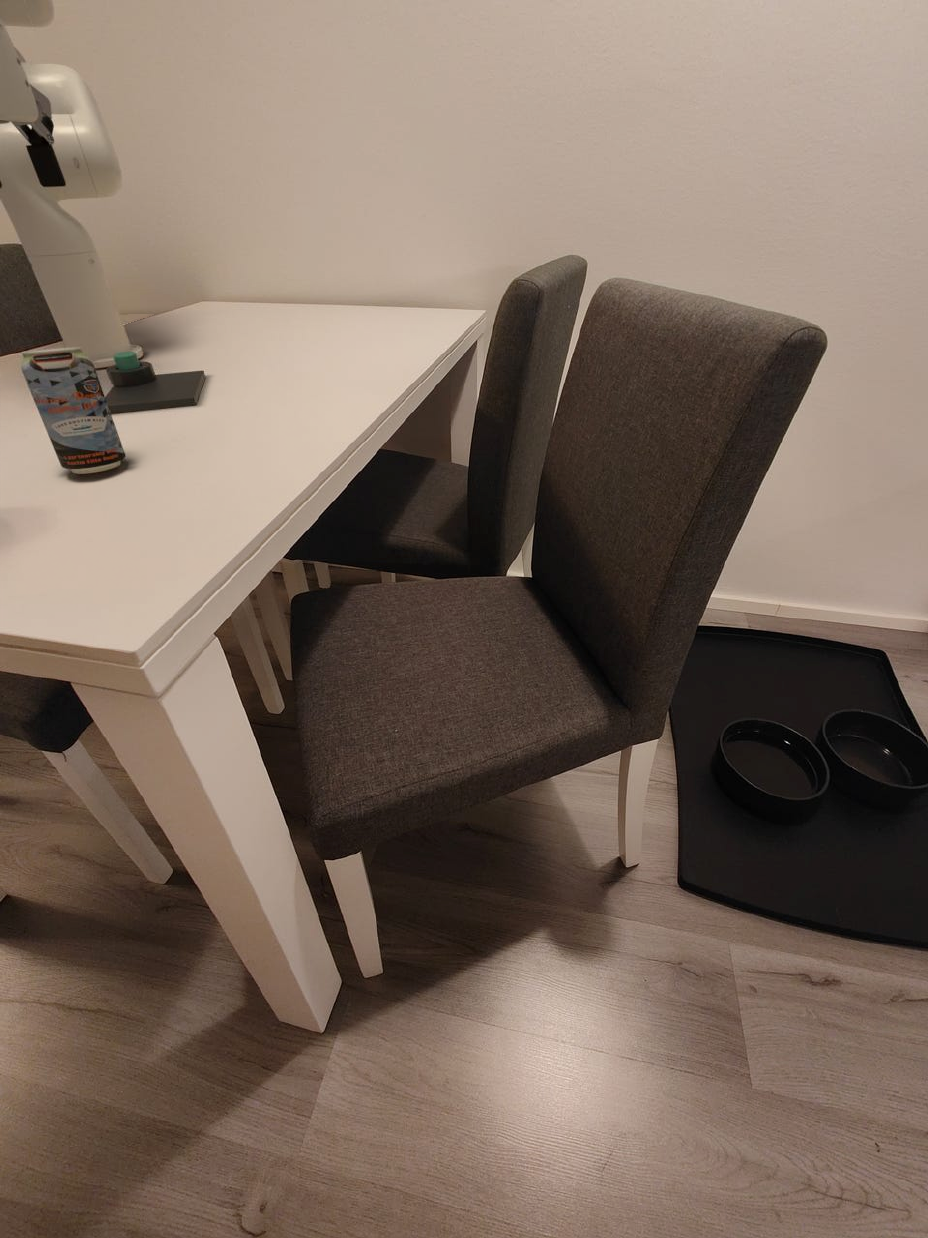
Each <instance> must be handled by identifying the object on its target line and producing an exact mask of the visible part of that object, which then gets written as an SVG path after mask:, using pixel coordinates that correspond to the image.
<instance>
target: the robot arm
mask: <svg viewBox="0 0 928 1238" xmlns="http://www.w3.org/2000/svg"><path fill="white" fill-rule="evenodd" d="M54 19H55V5H54V0H0V202H1V204H2V205H3V207H4V209H5V211H6V214H7V216H8V217H9V219H10V222H11V224H12V225H13V228H14V230H15V232H16V235H17V237H18V239H19V241H20V243H21V246H22V248H23V250H24V253H25V255H26V257H27V260H28V262H29V265H30V267H31V269H32V271H33V274H34V276H35V278H36V281H37V284H38V286H39V288H40V291H41V292H42V294H43V297H44V300H45V302H46V304H47V307H48V309H49V311H50V313H51V315H52V318H53V321H54V322H55V323H54V324H55V325H56V328H57V330H58V333H59V335H60V337H61V339H62V342H63V344H64V346H65V348H70V347H81V350H82V352H83V353H84V354H85V355H86V356H87V357H89V358H90V359H91V361H92V362H93V364H94V367H95V369H104V368H108V367H110V366H113V365H116V363H115V360H114V358H113V355H115V354H117V353H122V352H135V353H136V355H137V358H138V360H139V359H141V358H143V356H144V350H143V348H142V347H141V346H140V345H137V344H132V343H131V342H130V340H129V337H128V334H127V331H126V329H125V326H124V323H123V321H122V318H121V315H120V312H119V309H118V306H117V304H116V301H115V299H114V295H113V293H112V290H111V286H110V285H109V282H108V279H107V276H106V274H105V270H104V268H103V264H102V262H101V259H100V257H99V254H98V251H97V247H96V246H95V243H94V240H93V239H92V237H91V235H90V233H89V231H88V230H87V229H86V228H85V226H84V225H83V224H82V223H81V222H80V221H78V220H77V219H76V218H75V217H74V216H73V215H72V214H70V213H69V212H68V211H66V210H65V209H64V208H63V207H62V206H61V204H59V202H60V201H67V200H80V199H100V198H110V197H114V196H116V195H117V194H119V192H120V191H121V188H122V183H123V182H122V181H123V178H122V170H121V166H120V162H119V158H118V155H117V153H116V150H115V147H114V145H113V142H112V140H111V137H110V134H109V132H108V129H107V127H106V124H105V121H104V118H103V116H102V113H101V111H100V108H99V105H98V104H97V103H98V102H97V100H96V99H95V97H94V94H93V92H92V90H91V88H90V86H89V85H88V83H87V82H86V80H85V79H84V77H83V76H82V75H81V74H80V73H79V72H78V71H77V70H75V69H74V68H72V67H70V66H68V65H64V64H59V63H48V62H47V63H43V62H27V60H26V58H25V57H24V56H23V54H22V53H21V51H19V49H18V48H16V46H14V45H15V44H14V43H13V41H12V39H11V36H10V34H9V32H8V30H7V28H6V27H21V28H22V27H23V28H44V27H45V28H46V27H48V26H50V25H51V24H52V23H53V21H54Z"/></svg>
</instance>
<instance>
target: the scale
mask: <svg viewBox="0 0 928 1238" xmlns="http://www.w3.org/2000/svg"><path fill="white" fill-rule="evenodd" d="M139 363H140V366H141V367H139V368H135V369H130V370H118V368H117V365H113V366H110V367H106V369H105V370H106V375H107V376H108V379H109V381H110V384H111V385H112V387H111V388H110V390H109V392H108V393H107V394H106V395H105V399H106V401H107V404H108V407H109V410H110V413H111V415H112V414H121V413H130V412H131V413H132V412H143V411H152V410H160V409H169V408H170V409H172V408H181V407H191V406H192V407H193V406H197V404H198V400H199V397H200V394H201V391H202V388H203V385H204V382H205V379H206V375H205V370H194V371H193V370H192V371H181V372H172V373H171V372H170V373H160V374H159V373H158V374H156V373H155V370H154V369H155V368H154V367H153V364H152V362H149V361H147V360H145V361H144V360H139Z"/></svg>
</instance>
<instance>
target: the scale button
mask: <svg viewBox="0 0 928 1238" xmlns="http://www.w3.org/2000/svg"><path fill="white" fill-rule="evenodd" d="M113 358H114V360H115V363H116V365H117V368H118V370H130V369H135V368H139V367H141V366H140V363H139V361H140V360H139V359H138V358H137V355H136V353H135V352H122V353H117V354H115V355H113Z"/></svg>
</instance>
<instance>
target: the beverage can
mask: <svg viewBox="0 0 928 1238" xmlns="http://www.w3.org/2000/svg"><path fill="white" fill-rule="evenodd" d="M21 355H22V357H23V358H22V361H21V365H20V369H21V372H22V375H23V377H24V379H25V382H26V384H27V387H28V389H29V392H30V394H31V396H32V399H33V401H34V403H35V406H36V409H37V411H38V413H39V416H40V418H41V420H42V424H43V426H44V428H45V430H46V432H47V435H48V437H49V440H50V442H51V445H52V447H53V450H54V452H55V455H56V457H57V459H58V462H59V465H60V467H61V468H63V469H65V470H70V471H71V472H72V473H73V474H78V475H79V474H92V473H100V472H105V471H108V470H112V469H115V468H117V467H119V466H120V465H121V461H122V460H124V459H126V452H125V450H124V448H123V444H122V442H121V441H122V440H121V438H120V436H119V432H118V429H117V427H116V424H115V421H114V419H113V415H112V414H111V413H110V410H109V407H108V404H107V401H106V399H105V397H106V395H105V393H104V390H103V387H102V384H101V381H100V379H99V376H98V373H97V370H96V368H95V367H94V364H93V362H92V361H91V359H90V358H89V357H87V356H86V355H85V354H84V353H83V352H82V350H81V347H70V348H66V347H57V348H47V349H36V350H35V349H34V350H28V351H27V350H26V351H21Z"/></svg>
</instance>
